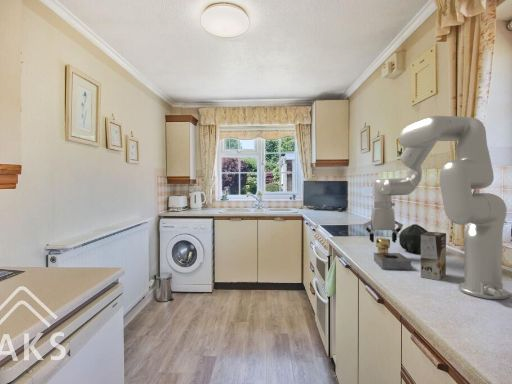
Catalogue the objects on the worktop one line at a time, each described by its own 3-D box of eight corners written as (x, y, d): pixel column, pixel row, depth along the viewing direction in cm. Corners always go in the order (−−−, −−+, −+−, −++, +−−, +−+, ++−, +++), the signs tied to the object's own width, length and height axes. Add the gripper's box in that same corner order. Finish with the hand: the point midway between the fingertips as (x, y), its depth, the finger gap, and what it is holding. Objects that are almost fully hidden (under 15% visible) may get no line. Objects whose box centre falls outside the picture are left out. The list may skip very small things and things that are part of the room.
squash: (418, 236, 160) (404, 217, 157) (443, 243, 146) (429, 221, 142) (402, 256, 158) (387, 236, 154) (426, 264, 144) (411, 243, 140)
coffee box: (439, 280, 107) (439, 236, 106) (420, 277, 111) (420, 234, 111) (446, 274, 113) (446, 232, 113) (427, 271, 118) (427, 231, 117)
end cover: (391, 259, 137) (391, 240, 137) (378, 258, 138) (377, 240, 138) (387, 255, 143) (387, 238, 143) (374, 255, 144) (374, 238, 144)
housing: (411, 270, 120) (411, 261, 120) (382, 269, 122) (382, 260, 121) (399, 260, 134) (399, 253, 134) (373, 260, 135) (373, 252, 135)
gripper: (399, 204, 142) (399, 240, 143) (361, 205, 145) (362, 240, 145) (405, 206, 135) (405, 243, 135) (365, 206, 137) (365, 243, 138)
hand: (383, 241), depth 140 cm, fingers open, 9 cm apart
